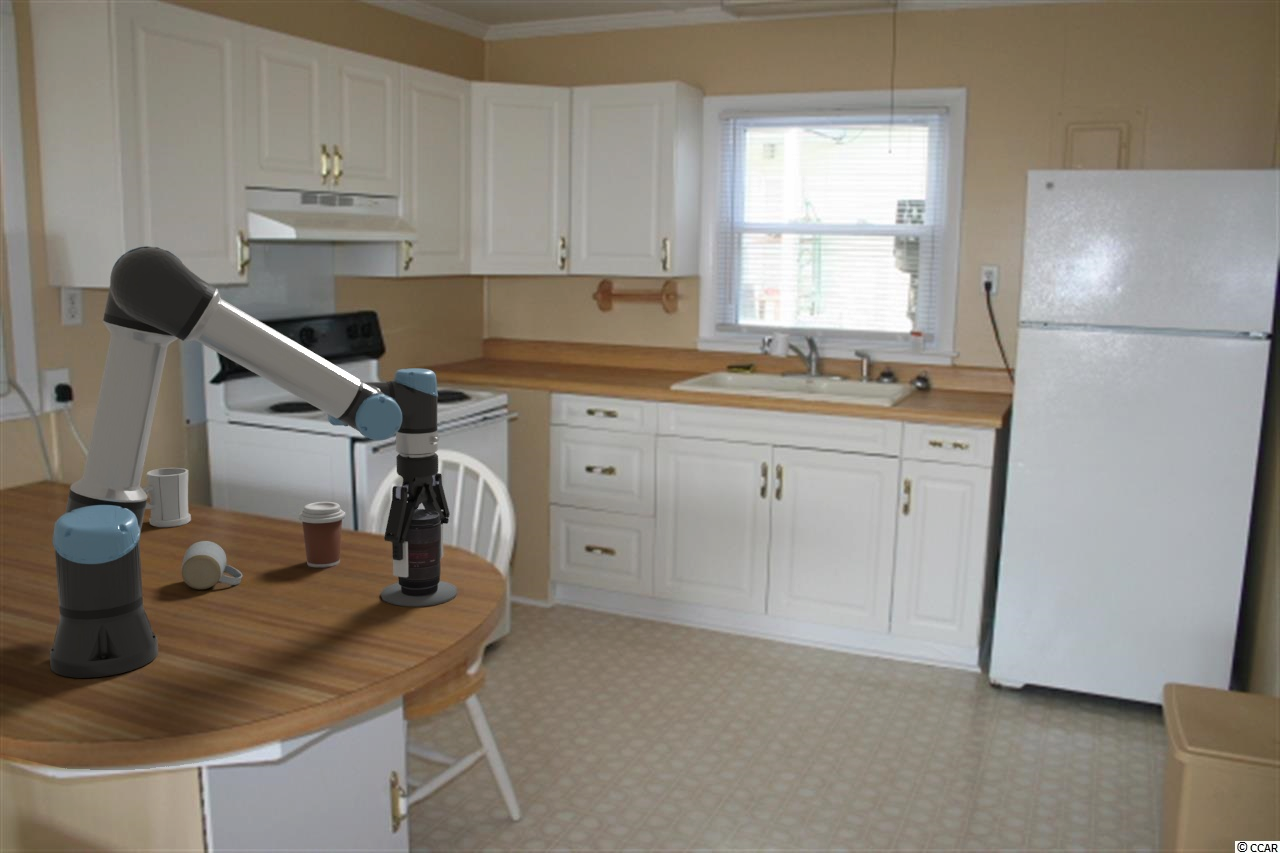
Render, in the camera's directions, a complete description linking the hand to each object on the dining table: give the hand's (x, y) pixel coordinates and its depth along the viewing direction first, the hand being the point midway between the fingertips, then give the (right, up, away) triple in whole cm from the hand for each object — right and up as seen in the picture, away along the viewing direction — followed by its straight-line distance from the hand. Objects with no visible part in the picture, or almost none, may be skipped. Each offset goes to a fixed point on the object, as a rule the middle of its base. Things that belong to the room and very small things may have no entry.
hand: (419, 566), depth 203 cm
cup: (-67, +4, +46) cm, 81 cm away
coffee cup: (-23, -2, +19) cm, 30 cm away
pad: (0, -5, +1) cm, 5 cm away
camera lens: (0, -5, +1) cm, 5 cm away
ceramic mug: (-41, -4, +5) cm, 41 cm away
